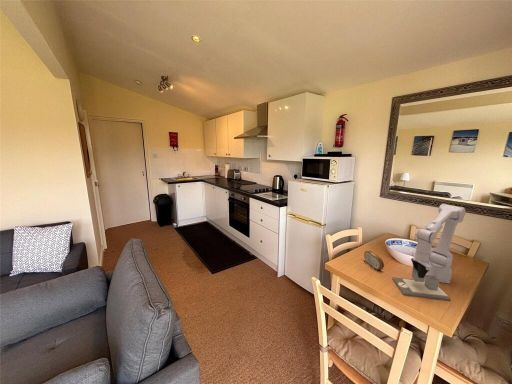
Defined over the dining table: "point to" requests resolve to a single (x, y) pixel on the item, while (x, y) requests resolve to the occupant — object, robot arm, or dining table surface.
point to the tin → (374, 260)
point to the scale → (419, 289)
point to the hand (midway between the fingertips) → (418, 275)
